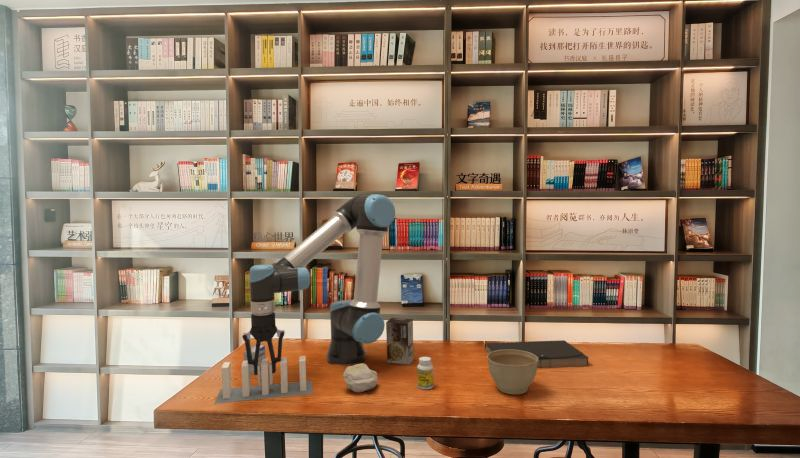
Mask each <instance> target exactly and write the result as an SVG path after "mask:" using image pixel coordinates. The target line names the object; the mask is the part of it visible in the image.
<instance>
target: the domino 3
mask: <svg viewBox="0 0 800 458" xmlns="http://www.w3.org/2000/svg"><path fill="white" fill-rule="evenodd" d="M269 360H270V359H269V358H266V359H262V363H261V386H262V395H267V394H269V389H270V386H269V385H270V369H269V364H270V362H269Z"/></svg>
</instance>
